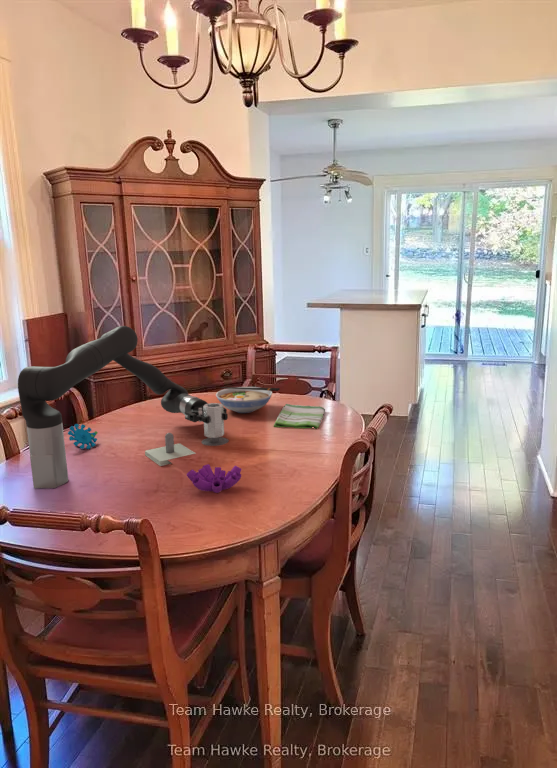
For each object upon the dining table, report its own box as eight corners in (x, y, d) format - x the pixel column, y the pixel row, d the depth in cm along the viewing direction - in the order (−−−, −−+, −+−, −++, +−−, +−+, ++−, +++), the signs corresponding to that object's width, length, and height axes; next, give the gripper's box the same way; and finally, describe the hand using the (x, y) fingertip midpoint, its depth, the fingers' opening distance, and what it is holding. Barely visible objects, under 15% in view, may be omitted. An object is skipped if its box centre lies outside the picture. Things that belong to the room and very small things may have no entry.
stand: (227, 449, 189) (226, 427, 187) (199, 450, 189) (198, 428, 187) (230, 441, 197) (229, 419, 196) (203, 441, 197) (202, 420, 196)
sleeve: (210, 438, 188) (209, 408, 186) (201, 434, 193) (200, 404, 190) (226, 435, 191) (225, 405, 189) (217, 430, 196) (217, 402, 194)
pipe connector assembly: (240, 506, 155) (233, 488, 148) (186, 502, 158) (177, 484, 151) (247, 469, 162) (241, 450, 155) (196, 466, 165) (187, 447, 158)
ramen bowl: (204, 416, 226) (203, 396, 225) (225, 402, 248) (224, 383, 246) (266, 420, 220) (265, 400, 218) (282, 405, 241) (281, 386, 239)
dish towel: (325, 413, 231) (325, 404, 230) (319, 430, 209) (319, 421, 208) (283, 411, 234) (283, 403, 233) (272, 428, 212) (272, 419, 211)
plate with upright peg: (160, 466, 175) (158, 441, 174) (145, 455, 185) (143, 431, 183) (196, 457, 182) (195, 434, 180) (179, 447, 192) (178, 424, 190)
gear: (77, 449, 187) (64, 424, 190) (69, 459, 189) (56, 434, 193) (105, 444, 196) (92, 420, 199) (97, 454, 199) (84, 430, 202)
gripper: (174, 400, 197) (196, 411, 184) (212, 394, 205) (236, 404, 192) (175, 421, 199) (197, 433, 185) (212, 415, 207) (236, 426, 193)
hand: (217, 418), depth 189 cm, fingers closed on sleeve, 6 cm apart
